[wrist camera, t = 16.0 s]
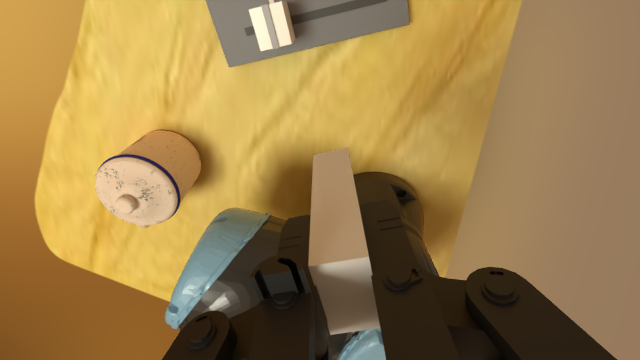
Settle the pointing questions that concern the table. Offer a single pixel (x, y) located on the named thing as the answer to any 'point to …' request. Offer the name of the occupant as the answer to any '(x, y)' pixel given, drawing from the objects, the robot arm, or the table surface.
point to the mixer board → (303, 24)
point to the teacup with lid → (148, 178)
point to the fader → (272, 25)
